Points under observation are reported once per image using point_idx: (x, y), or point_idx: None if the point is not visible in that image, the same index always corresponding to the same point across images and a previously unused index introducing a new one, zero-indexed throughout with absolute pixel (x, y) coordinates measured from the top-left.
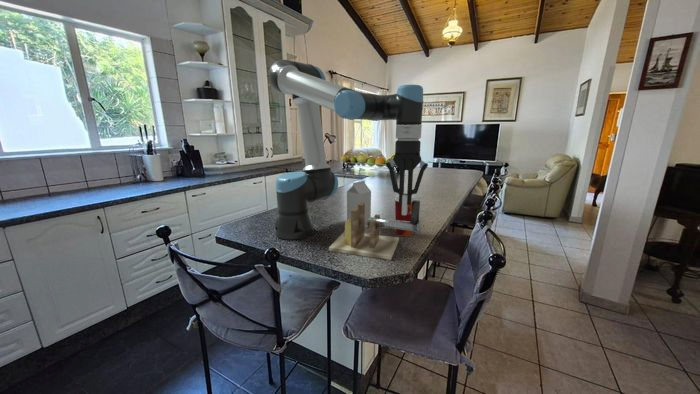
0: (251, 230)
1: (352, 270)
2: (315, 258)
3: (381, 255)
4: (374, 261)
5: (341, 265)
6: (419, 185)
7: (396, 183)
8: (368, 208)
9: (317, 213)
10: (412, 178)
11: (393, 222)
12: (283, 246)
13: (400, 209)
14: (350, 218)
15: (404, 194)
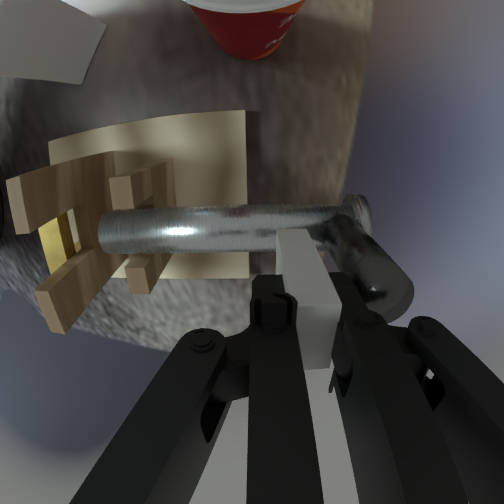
0: None
1: (177, 341)
2: (82, 313)
3: (219, 277)
4: (207, 292)
5: (144, 329)
6: (476, 367)
7: (203, 441)
8: (58, 19)
9: None
10: (433, 470)
11: (230, 250)
12: (8, 279)
13: (225, 24)
14: (41, 230)
15: (303, 342)
